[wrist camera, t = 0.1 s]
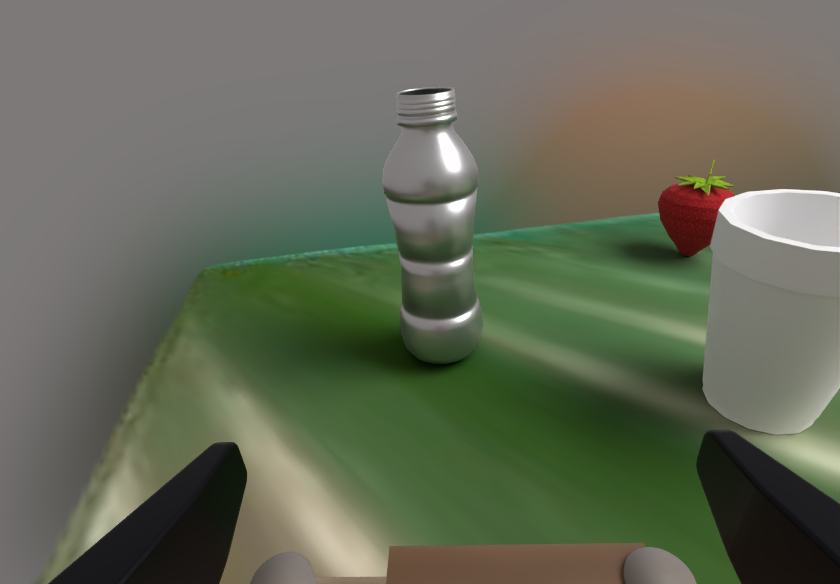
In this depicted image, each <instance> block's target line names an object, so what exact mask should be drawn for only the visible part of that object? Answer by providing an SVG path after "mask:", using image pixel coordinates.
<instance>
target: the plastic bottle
mask: <svg viewBox="0 0 840 584" xmlns="http://www.w3.org/2000/svg"><path fill="white" fill-rule="evenodd" d="M396 96H397V97H396V104H397V116H396V123H397V125H399V126H402V129H401V135H400V137H399V138H398V140H397V142H396V143H395V145H394V147H393V149H392V150H391V152H390V154H389V156H388V158H387V160H386V162H385V165H384V169H383V175H382V184H383V189H384V194H385V195H386V200H387V204H388V208H389V212H390V215H391V219H392V222H393V226H394V230H395V234H396V239H397V246H398V251H399V252H400V253H399V257H400V263H401V281H402V304H401V311H400V332H401V335H402V337H403V340H404V343H405V346H406V348H407V349H408V350H409V351H410V352H411V353H412V354H413V355H414V356H415V357H416V358H418V359H420V360H422V361H424V362H427V363H432V364H448V363H453V362H457V361H459V360H462V359H464V358H465V357H467V356H469V355H470V354H471V353H472V352H473V350H474V349H475V348H476V347H477V345H478V344H479V342H480V339H481V334H482V329H483V317H482V312H481V306H480V303H479V299H478V297H477V292H476V284H475V276H474V268H473V260H472V256H473V248H472V245H473V221H474V211H475V204H476V195H477V186H478V169H477V166H476V163H475V160H474V157H473V156H472V154H471V153H470V151H469V149H468V148H467V146H466V145H465V143H464V142H463V141H462V140H461V138H460V137H459V136H458V135H457V133H456V132H455V131H454V129H453V124H452V122H453V121H455V120H457V111H456V110H455V92H454V88H451V87H428V88H418V89H411V90H405V91H401V92H398V93H396Z"/></svg>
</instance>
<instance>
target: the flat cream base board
mask: <svg viewBox="0 0 840 584" xmlns="http://www.w3.org/2000/svg"><path fill="white" fill-rule="evenodd" d="M250 584H696V581H695V578H694V577H693V575H692V573H691V572H690V570H689V569H688V568H687V566H686V565H685V564H684V563H683V562H682V561H681V560H679V559H678V558H677V557H675V556H674V555H672V554H671V553H669V552H667V551H664V550H662V549H658V548H653V547H645V544H644V543H598V544H527V545H456V546H390V548H389V559H388V569H387V577H315V575H314V572H313V569H312V566H311V564H310V562H309V560H308V559H307V558H306V557H305V556H303V555H301V554H299V553H295V552H285V553H281V554H278V555H275V556H273V557H271V558H270V559H268V560H267V561H266V562H265V563H263V564H262V565H261V566H260V568H259V569H258V570H257V571H256V573H255V574H254V576H253V578H252V581H251V583H250Z"/></svg>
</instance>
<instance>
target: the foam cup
mask: <svg viewBox="0 0 840 584" xmlns="http://www.w3.org/2000/svg"><path fill="white" fill-rule="evenodd" d="M710 248H711V250H712V251H713V260H712V272H711V284H710V296H709V308H708V321H707V333H706V345H705V357H704V369H703V388H702V390H703V392H704V394H705V397H706V399H707V401H708V403H709V404H710V405H711V406H712V407H713V408H715V409H716V410H717V411H718V412H719V413H720V414H721V415H723V416H724V417H725V418H727V419H729V420H731V421H733V422H735V423H737V424H740V425H742V426H744V427H746V428H748V429H751V430H756V431H760V432H765V433H769V434H774V435H781V434H796V433H800V432H802V431H803V430H805V429H807V428H808V427H810V426H811V425H813V423H814V421H815V419H817V418H818V417H819V416H820V414H821V413H822V412H823V410H824V409H825V407H826V406H827V405H828V403H829V402H830V401H831V399H832V398H833V396H834V395H835V394H836V392H837V391H838V389H839V388H840V194H839V193H832V192H826V191H809V190H808V191H807V190H789V189H779V190H766V191H754V192H746V193H743V194H740V195H737V196H734V197H730V198H727V199H725V201H724V202H723V204H722V205H721V207H720V209H719V211H718V215H717V219H716V223H715V227H714V231H713V236H712V240H711V244H710Z"/></svg>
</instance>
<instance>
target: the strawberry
mask: <svg viewBox="0 0 840 584" xmlns="http://www.w3.org/2000/svg"><path fill="white" fill-rule="evenodd" d="M713 164H714V160H713V163H712V167H711V171H710V174H709V176H708V179H707V181H706V182H705V179H703V178H699V177H694V176H690V175H689V176H688V177H675V178H676V179H680V180H683V181H687V182H685V183H681V184H675V185H672V186H670V187H669V188H667V189H666V190H664V191H663V192H662V194H661V197H660V199H659V201H658V206H659V213H660V220H661V222H662V224H663V226H664V227H665V229H666V231H667V233H668V235H669V237H670V238H671V239H672V241H673V242H674V244H675V245H676V247H677V248H678V250H679V252H680V253H681V254H682V255H684V256H693V255H695V254H696V253H697V252H699V251H700V250H702V249H703V248H705V247H707V246H709V245H710V244H711V240H712V236H713V231H714V227H715V223H716V219H717V215H718V211H719V209H720V207H721V205H722V204H723V202H724V201H725V199H727V198H730V197H734V196H735V195H734V194H733V193H732V192H730V191H728V190H729V189H728V188H727V187H725V186H730V187H734V185H731V184H729V183H726V182H723V181H721V180H720V179H723V178H726V176H715V177H714V176H713V177H710V175H711V172H712V168H713Z"/></svg>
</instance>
